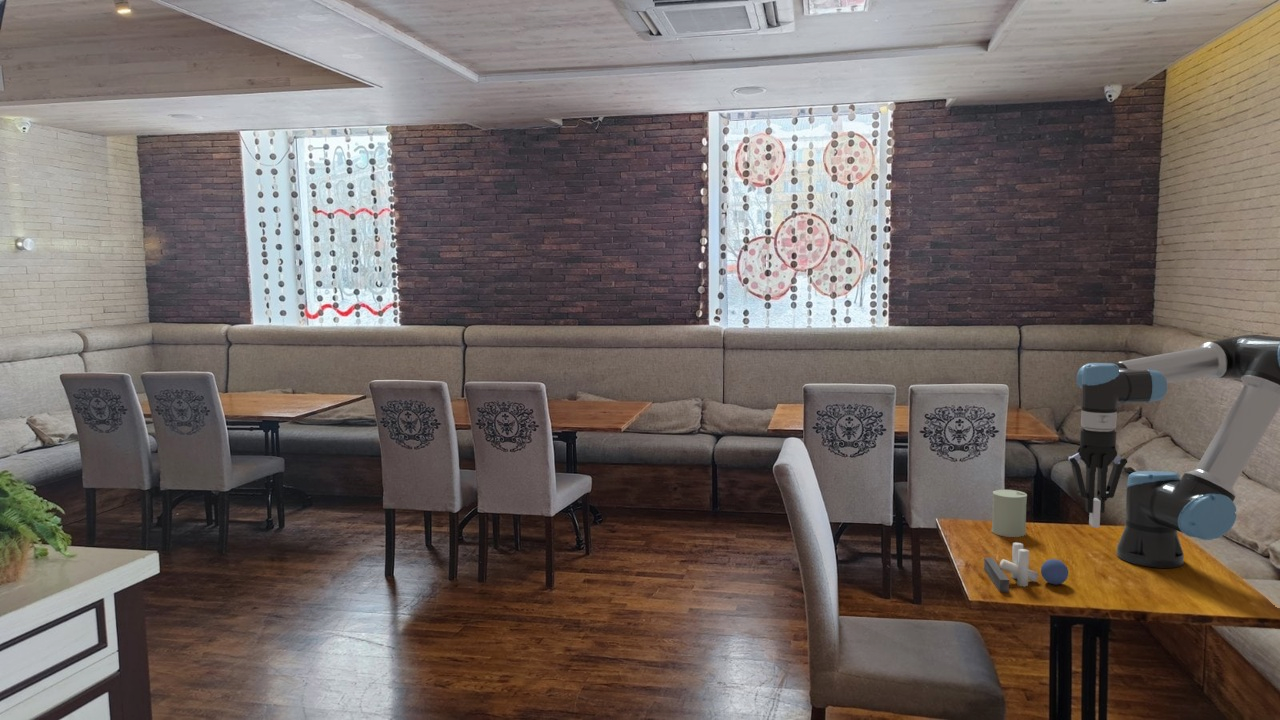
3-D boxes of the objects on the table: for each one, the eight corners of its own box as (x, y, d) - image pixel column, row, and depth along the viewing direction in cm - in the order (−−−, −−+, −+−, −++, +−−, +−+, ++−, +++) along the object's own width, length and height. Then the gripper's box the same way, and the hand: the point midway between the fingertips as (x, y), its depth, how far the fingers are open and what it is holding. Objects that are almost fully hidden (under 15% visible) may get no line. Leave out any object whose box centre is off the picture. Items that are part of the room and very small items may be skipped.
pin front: (1036, 571, 216) (1002, 558, 217) (1039, 574, 213) (1005, 560, 214) (1032, 580, 216) (998, 566, 217) (1035, 583, 214) (1001, 569, 215)
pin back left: (1026, 583, 214) (1027, 549, 213) (1029, 586, 212) (1030, 552, 211) (1015, 582, 214) (1017, 548, 213) (1018, 586, 212) (1019, 552, 211)
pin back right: (1020, 576, 219) (1021, 542, 218) (1023, 579, 216) (1024, 545, 216) (1010, 575, 219) (1011, 542, 218) (1013, 579, 217) (1014, 545, 216)
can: (1029, 538, 249) (1030, 496, 248) (994, 536, 251) (995, 495, 250) (1022, 528, 258) (1023, 488, 257) (988, 527, 260) (989, 487, 259)
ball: (1032, 561, 216) (1043, 581, 217) (1041, 572, 210) (1053, 593, 211) (1055, 550, 215) (1066, 570, 216) (1065, 561, 209) (1076, 581, 210)
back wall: (992, 569, 224) (992, 557, 224) (1008, 592, 208) (1009, 580, 208) (984, 569, 224) (984, 557, 224) (999, 592, 208) (1000, 579, 208)
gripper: (1074, 431, 206) (1070, 529, 209) (1134, 431, 204) (1129, 531, 207) (1063, 425, 214) (1060, 520, 216) (1121, 426, 212) (1117, 522, 214)
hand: (1094, 525), depth 211 cm, fingers closed
